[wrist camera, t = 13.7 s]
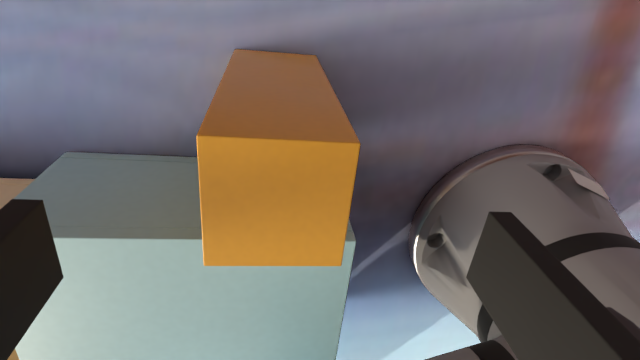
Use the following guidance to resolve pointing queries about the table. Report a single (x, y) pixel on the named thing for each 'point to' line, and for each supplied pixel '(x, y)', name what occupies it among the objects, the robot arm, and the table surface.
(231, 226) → the orange rectangular block
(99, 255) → the cabinet
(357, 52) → the table surface
